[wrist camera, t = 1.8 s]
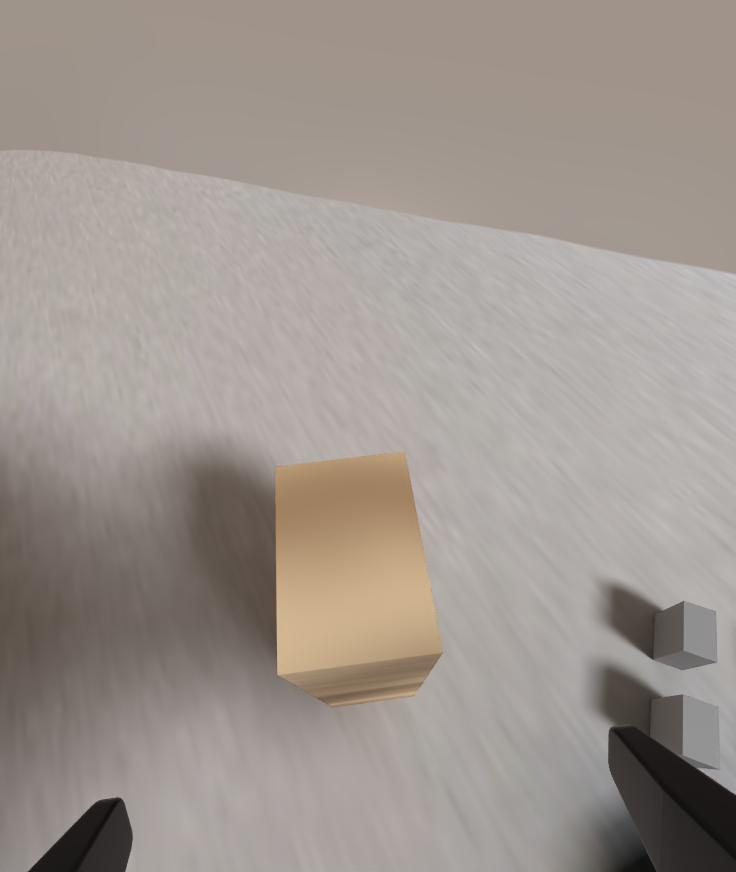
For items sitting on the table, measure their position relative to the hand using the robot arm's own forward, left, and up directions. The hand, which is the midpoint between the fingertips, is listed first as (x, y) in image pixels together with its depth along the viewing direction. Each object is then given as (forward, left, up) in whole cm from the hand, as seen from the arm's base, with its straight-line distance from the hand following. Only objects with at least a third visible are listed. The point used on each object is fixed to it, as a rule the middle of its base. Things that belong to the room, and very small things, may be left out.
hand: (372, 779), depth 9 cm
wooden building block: (+3, +3, -12) cm, 13 cm away
